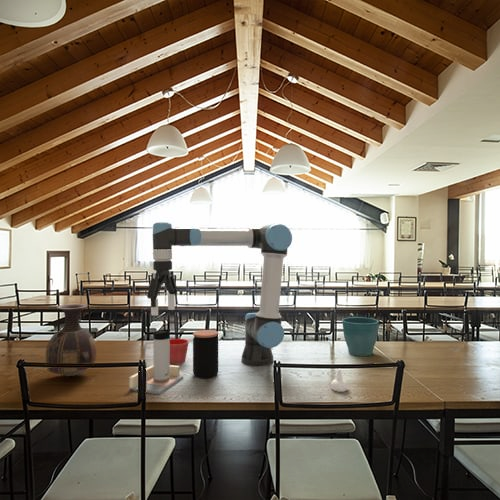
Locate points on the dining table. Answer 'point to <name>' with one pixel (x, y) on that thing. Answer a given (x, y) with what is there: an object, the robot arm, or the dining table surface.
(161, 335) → the travel mug
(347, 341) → the flower pot
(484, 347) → the dining table surface
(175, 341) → the flower pot
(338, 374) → the garlic bulb
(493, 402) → the dining table surface
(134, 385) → the tray
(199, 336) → the coffee jar
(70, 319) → the vase
